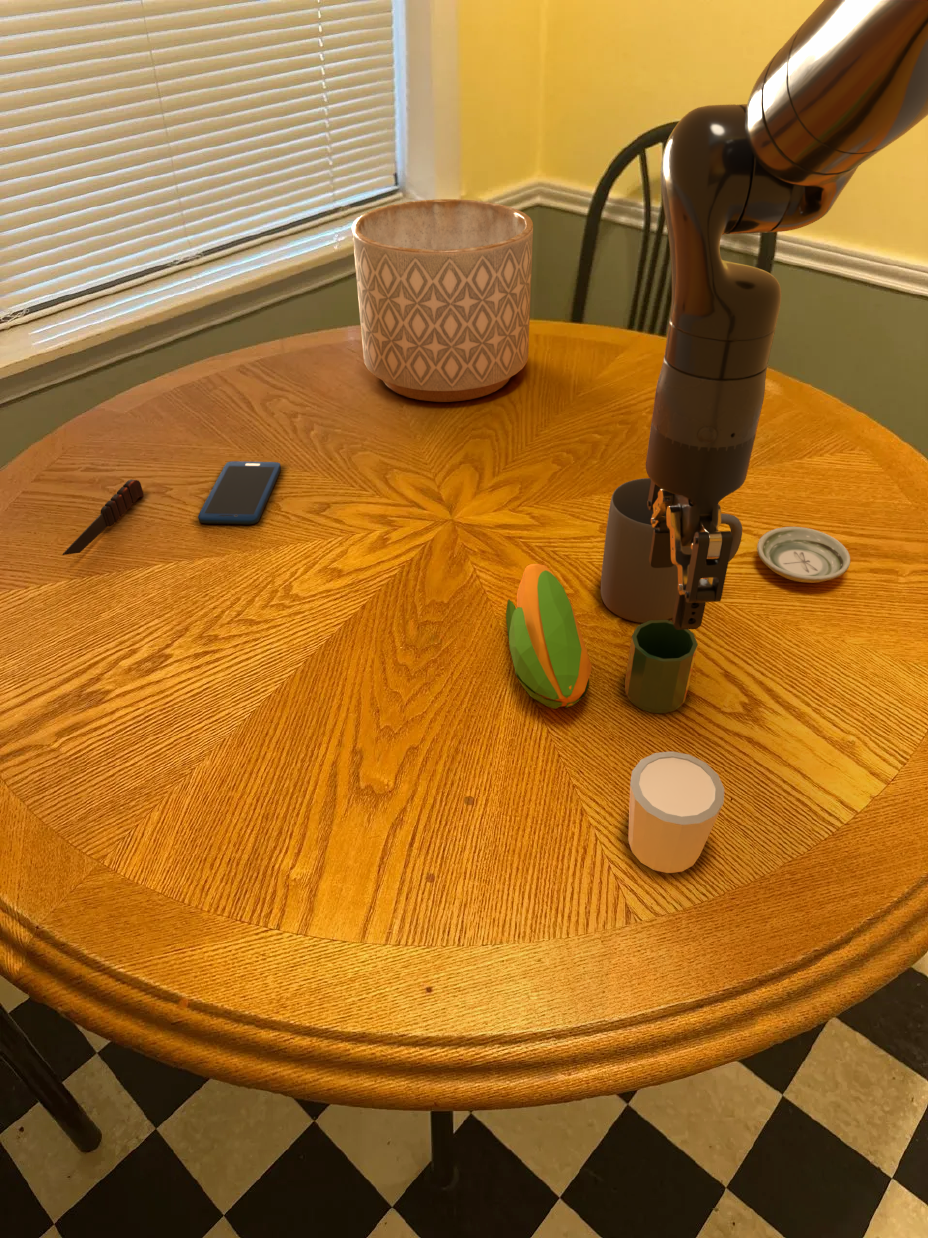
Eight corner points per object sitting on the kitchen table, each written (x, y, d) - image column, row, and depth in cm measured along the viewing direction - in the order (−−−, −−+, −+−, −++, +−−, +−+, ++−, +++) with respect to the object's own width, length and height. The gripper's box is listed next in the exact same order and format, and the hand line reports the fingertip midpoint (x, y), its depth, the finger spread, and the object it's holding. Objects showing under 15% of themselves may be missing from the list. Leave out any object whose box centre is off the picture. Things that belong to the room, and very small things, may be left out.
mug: (605, 625, 88) (617, 528, 80) (594, 572, 95) (604, 477, 87) (738, 624, 88) (763, 526, 80) (717, 570, 95) (738, 475, 87)
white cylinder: (681, 798, 71) (694, 740, 67) (725, 865, 66) (743, 809, 62) (605, 820, 70) (614, 763, 65) (645, 891, 65) (658, 834, 60)
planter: (547, 400, 128) (556, 242, 113) (377, 418, 124) (363, 258, 109) (504, 335, 147) (507, 193, 132) (356, 349, 143) (342, 205, 128)
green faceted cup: (692, 712, 79) (704, 659, 74) (631, 715, 78) (639, 662, 74) (677, 670, 83) (687, 618, 79) (619, 672, 83) (627, 621, 79)
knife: (73, 574, 96) (65, 552, 94) (65, 573, 96) (57, 551, 94) (145, 495, 109) (139, 474, 107) (138, 494, 109) (132, 473, 107)
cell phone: (282, 466, 113) (281, 461, 113) (257, 525, 103) (256, 520, 102) (227, 465, 114) (226, 460, 113) (197, 523, 103) (195, 518, 103)
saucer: (736, 553, 97) (740, 536, 96) (807, 536, 100) (812, 518, 98) (788, 604, 90) (793, 585, 89) (863, 583, 93) (870, 565, 91)
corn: (523, 667, 72) (497, 533, 87) (514, 730, 77) (491, 592, 92) (610, 666, 73) (569, 533, 88) (596, 728, 78) (559, 591, 93)
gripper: (788, 465, 57) (741, 648, 68) (727, 376, 68) (694, 545, 79) (677, 469, 57) (647, 652, 67) (633, 379, 68) (613, 548, 78)
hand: (672, 594), depth 73 cm, fingers open, 8 cm apart
